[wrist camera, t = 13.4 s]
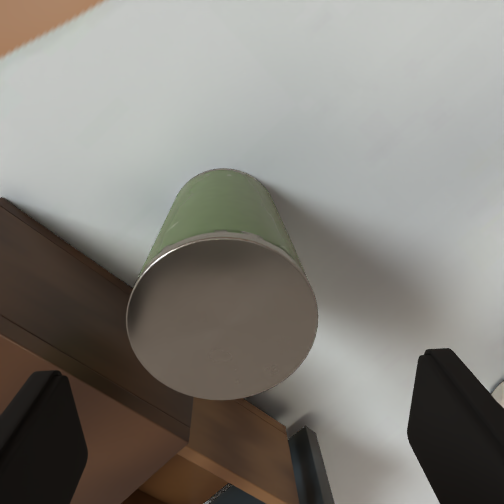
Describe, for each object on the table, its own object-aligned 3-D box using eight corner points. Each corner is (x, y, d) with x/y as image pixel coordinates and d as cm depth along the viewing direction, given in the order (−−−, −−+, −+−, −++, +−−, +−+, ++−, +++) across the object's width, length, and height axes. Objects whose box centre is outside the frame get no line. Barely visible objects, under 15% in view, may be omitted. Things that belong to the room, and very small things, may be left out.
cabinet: (200, 335, 26) (189, 443, 18) (79, 454, 30) (25, 588, 22) (2, 196, 22) (-132, 258, 14) (-112, 357, 25) (-272, 481, 17)
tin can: (246, 148, 22) (267, 200, 11) (292, 240, 24) (346, 355, 13) (151, 199, 22) (83, 294, 12) (205, 283, 25) (189, 425, 14)
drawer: (352, 457, 31) (385, 552, 24) (240, 541, 34) (243, 644, 28) (177, 338, 25) (161, 421, 19) (63, 452, 28) (17, 556, 22)
